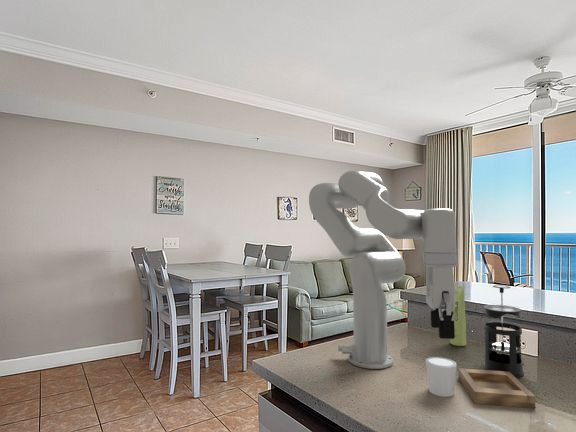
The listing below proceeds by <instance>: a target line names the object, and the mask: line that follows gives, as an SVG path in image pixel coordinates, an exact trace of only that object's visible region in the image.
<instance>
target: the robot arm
mask: <svg viewBox="0 0 576 432" xmlns="http://www.w3.org/2000/svg"><path fill="white" fill-rule="evenodd" d="M389 198H390V192H389V190H388V189H387V188H386V187H385V186H384V182H383V179H382V178H381V177H380V175H378V174H377V173H375V172H371V171H362V170H349V171H348V170H347V171H346V172H344V173H342V174H341V175H340V177H339V179H338V183H336V182H335V183H334V182H321V183H318V184H316V185H314V186H312V188H311V189H310V191H309V195H308V205H309V210H310V212H311V215H312V217H313V218H314V219H315V221H316V222H317V224H319V226H320V227H321V228H322V229H323V230H324V231H325V232H326V233H327V235H328V237H329V238H330V240H331V241H332V243H333V244H334V246H335V247H336V249H338V251H339V252H340V254H341V255H342V256H343V257H345V258H348V259H351V260H350V263H349V266H348V267H349V269H348V270H349V276H350V280H351V281H350V282H351V286H352V298H353V299H352V302H353V305H352V306H353V309H352V310H353V313H352V314H353V341H352V344H351V343H350V344H349V345H345V344H338V352H341V353H342V355H343V354H344V355H345V354H348V362H349V363H351V364H352V365H354V366H356V367H359V368H362V369H363V368H364V369H369V370H370V369H371V370H372V369H374V370H378V369H379V370H381V369H387V368H390V367H391V366H392V365H393V364H394V359H393V356H391V355H390V354H388V308H387V304H388V301H387V296H386V293H385V292H384V290H383V287H382V285H383V284H390V283H397V282H398V281H400V280H401V279H403V278H404V277H405V274H406V263H405V260H404V258H403V256H402V255H401V254H400V252H399V251H398V250H397V248H395V247H394V245H393V244H392V243H391V241H389V240H388V238H391V239H394V240H409V239H410V240H421V239H422V259H423V260H422V261H423V263H422V265H423V267H426V274H425V275H426V276H425V277H426V279H425V280H426V281H425V285H426V286H425V303H426V304H427V305H428V306H429V308H430V325H431V327H432V328H438V337H439V338H440V339H445V340H447V339H449V340H450V339H454V338H455V329H454V316H453V311H452V310H453V309H454V308H455V289H454V285H455V278H454V277H455V275H454V268H457V267H458V255H457V254H458V253H457V252H458V251H457V250H458V249H457V226H456V222H457V221H456V213H455V210H453V209H451V208H446V207H445V208H443V207H441V208H440V207H439V208H438V207H437V208H436V207H435V208H428V209H425V210H423V209H406V208H402V209H400V208H396V207H395V206H392V205H391V204H390V203H388V202H389ZM356 207H360V208H361V209H363V210H365V215H366V218H367V220H368V222H369V224H370V225H371V226H372V227H373V228H372V227H359V226H356V225H355V224H354V223H353V222H352V221H351V220H350V218H349V217H348V216H347V215H346V213H344V212H342V211H341V210H339V209H343V210H345V209H346V210H348V209H349V210H350V209H354V208H356ZM387 237H388V238H387Z"/></svg>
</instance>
